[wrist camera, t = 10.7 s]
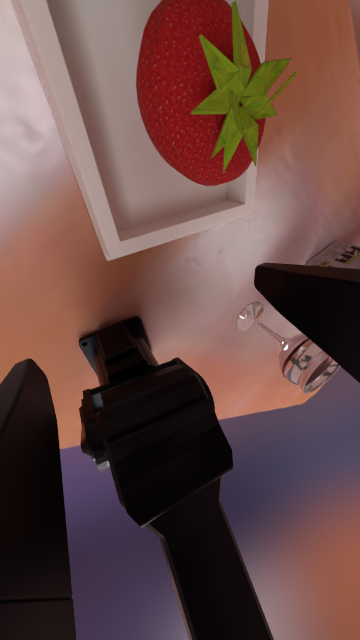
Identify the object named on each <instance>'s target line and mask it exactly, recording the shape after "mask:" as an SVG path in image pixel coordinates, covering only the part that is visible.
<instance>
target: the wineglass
mask: <svg viewBox="0 0 360 640" xmlns="http://www.w3.org/2000/svg"><path fill="white" fill-rule="evenodd" d="M262 313H263V306H262V304H260V303H258V302H255V303H252V304H250V305H248V306H247V307H246V308H245V309H244V310H243V311H242V312H241V314H240V315H239V317H238V320H237V327H238V329H239V330H241V331H246V330H249V329H251V328H252V327H254V326H255V325H256V324H258V325H259V326H260V327H261V328H263V329H264V330H265V331H266V332H267V333H269V334H270V335H271V336H272V337H274V338H275V339H276V340H277V341H278V342H280V343H281V348H282V349H281V351H280V354H279V366H280V369H281V372H282V373H283V376H284V377H285V378H286V379H287V380H288V381H289V382H291V383H293V384H295V385H299V386H300V387H301V389H302V391H303V393H304V394H309V393H311V392H313V391H315V390H317V389H318V388H319V387H321V386H322V385H323V384H324V383H326V382H327V381H328V380H329V379H330V378H331V377H332V376H333V375H334V374H335V372H336V371H337V370H338V369H339V367H340V365H339V364H337V363H336V362H335V361H334V360H333V359H332V358H330V357H329V356H328V355H327V354H326V353H325V352H324V351H322V350H321V349H320V348H319V347H318V346H317V345H316V344H314V343H313V342H312V341H311V340H310V339H309V338H308V337H306V336H305V335H304V334H303V333H301V334H297V335H295V336H294V337H292V338H286V339H284V338H283V337H281V336H280V335H278V334H277V333H275V332H274V331H272V330H271V329H269V328H268V327H266V326H265V325H263V324H262V323H260V322H259V320H260V318H261V316H262Z"/></svg>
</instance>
